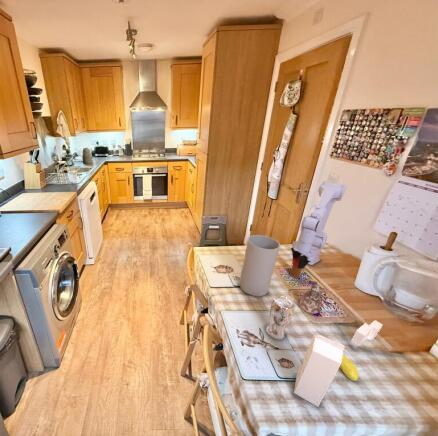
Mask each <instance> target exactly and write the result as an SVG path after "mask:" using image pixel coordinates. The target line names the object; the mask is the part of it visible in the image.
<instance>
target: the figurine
mask: <svg viewBox="0 0 438 436" xmlns="http://www.w3.org/2000/svg"><path fill="white" fill-rule="evenodd" d="M323 291H324V289H323V287H322V286H321V285H320V284H318V281H313V284H312V285H311V286H310V289H309V290H306V291H305V292H304V293H303V295H302V297H301V298H300V300H299V307H300V308H302V310H304V311H305V312H306V313H309V314H312V315H313V314H319V313H320V310H321V308H322V303H323V300H324V299H323V296H322V293H323Z"/></svg>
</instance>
